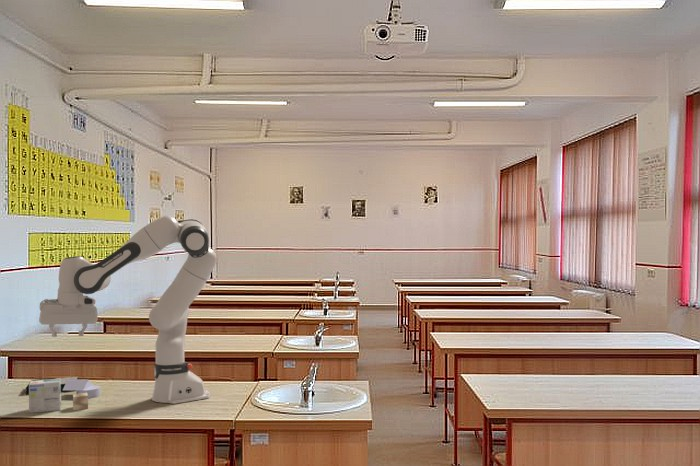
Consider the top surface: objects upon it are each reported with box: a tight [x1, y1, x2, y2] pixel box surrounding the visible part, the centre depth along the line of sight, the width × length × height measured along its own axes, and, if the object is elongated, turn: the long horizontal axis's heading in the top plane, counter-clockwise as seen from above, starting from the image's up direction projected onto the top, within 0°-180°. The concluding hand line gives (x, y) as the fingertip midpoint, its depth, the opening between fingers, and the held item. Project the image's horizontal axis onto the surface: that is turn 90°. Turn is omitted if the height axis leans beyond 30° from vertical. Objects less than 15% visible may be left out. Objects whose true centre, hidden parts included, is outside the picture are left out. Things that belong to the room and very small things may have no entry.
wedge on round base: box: [63, 378, 101, 400], centre depth 268 cm, size 9×7×13 cm
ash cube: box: [72, 393, 89, 411], centre depth 250 cm, size 5×5×5 cm
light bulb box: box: [28, 378, 62, 414], centre depth 248 cm, size 11×7×11 cm, turn 110°
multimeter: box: [25, 376, 80, 396], centre depth 280 cm, size 13×19×5 cm
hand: (67, 336), depth 250 cm, fingers open, 8 cm apart
